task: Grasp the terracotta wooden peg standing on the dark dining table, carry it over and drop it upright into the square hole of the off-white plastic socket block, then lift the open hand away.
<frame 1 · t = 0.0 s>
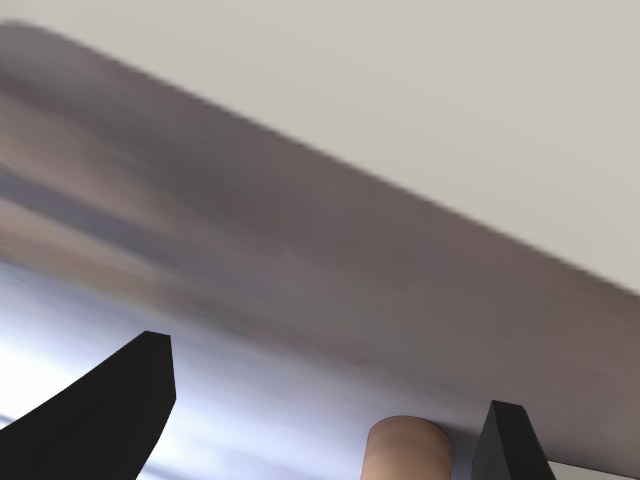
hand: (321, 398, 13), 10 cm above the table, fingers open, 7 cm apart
peg: (408, 445, 28), on the table
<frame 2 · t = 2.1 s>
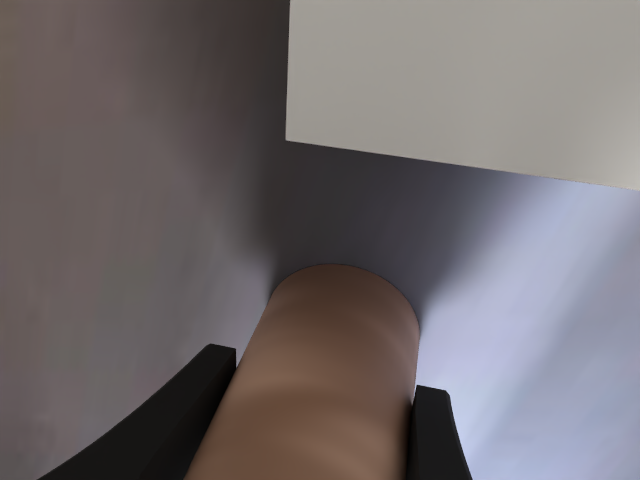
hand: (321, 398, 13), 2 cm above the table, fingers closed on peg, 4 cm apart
peg: (341, 329, 15), on the table, touching gripper
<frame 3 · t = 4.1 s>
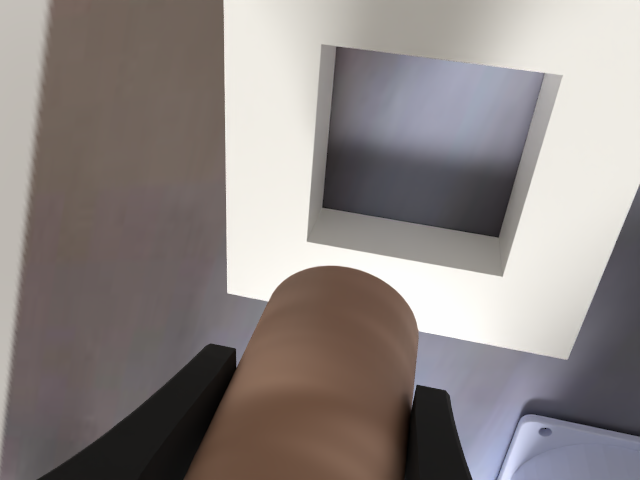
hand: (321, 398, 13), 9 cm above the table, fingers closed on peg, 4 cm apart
peg: (340, 330, 15), point 7 cm above the table, touching gripper
socket block: (423, 139, 19), on the table
when the fingers open (4 cm above the table, at t = 6.1 s): peg drops 1 cm, resting in socket block.
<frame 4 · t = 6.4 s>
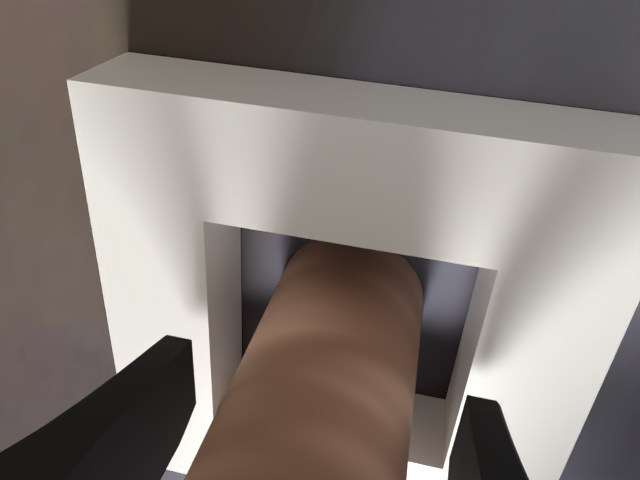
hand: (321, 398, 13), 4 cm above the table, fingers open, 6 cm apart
peg: (351, 296, 16), resting in socket block
socket block: (350, 295, 16), on the table
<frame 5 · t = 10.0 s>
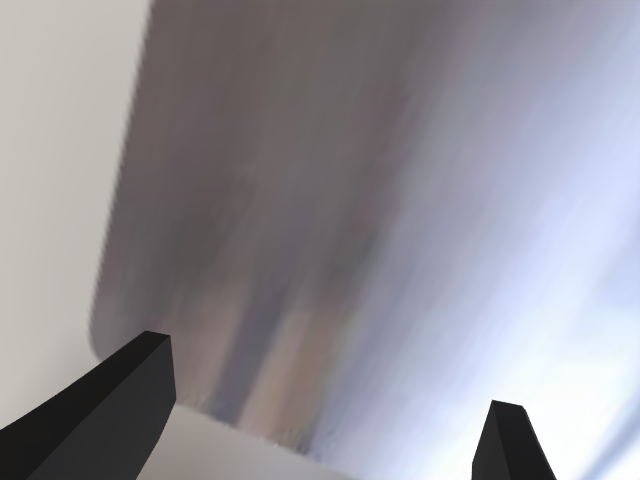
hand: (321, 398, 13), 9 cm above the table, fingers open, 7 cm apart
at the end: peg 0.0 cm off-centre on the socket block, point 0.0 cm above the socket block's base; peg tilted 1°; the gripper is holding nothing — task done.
